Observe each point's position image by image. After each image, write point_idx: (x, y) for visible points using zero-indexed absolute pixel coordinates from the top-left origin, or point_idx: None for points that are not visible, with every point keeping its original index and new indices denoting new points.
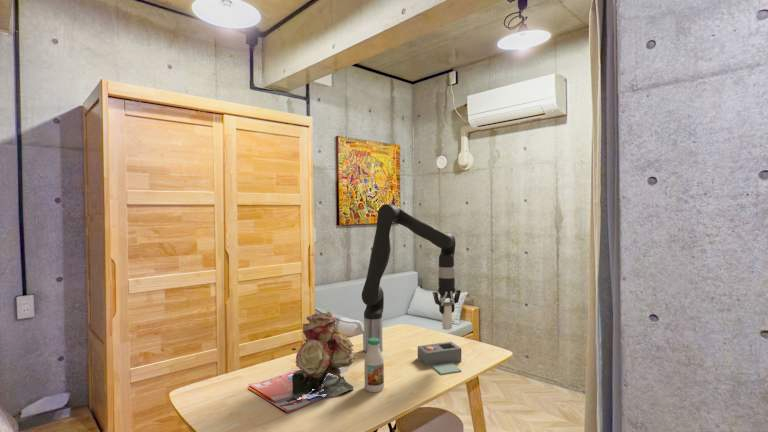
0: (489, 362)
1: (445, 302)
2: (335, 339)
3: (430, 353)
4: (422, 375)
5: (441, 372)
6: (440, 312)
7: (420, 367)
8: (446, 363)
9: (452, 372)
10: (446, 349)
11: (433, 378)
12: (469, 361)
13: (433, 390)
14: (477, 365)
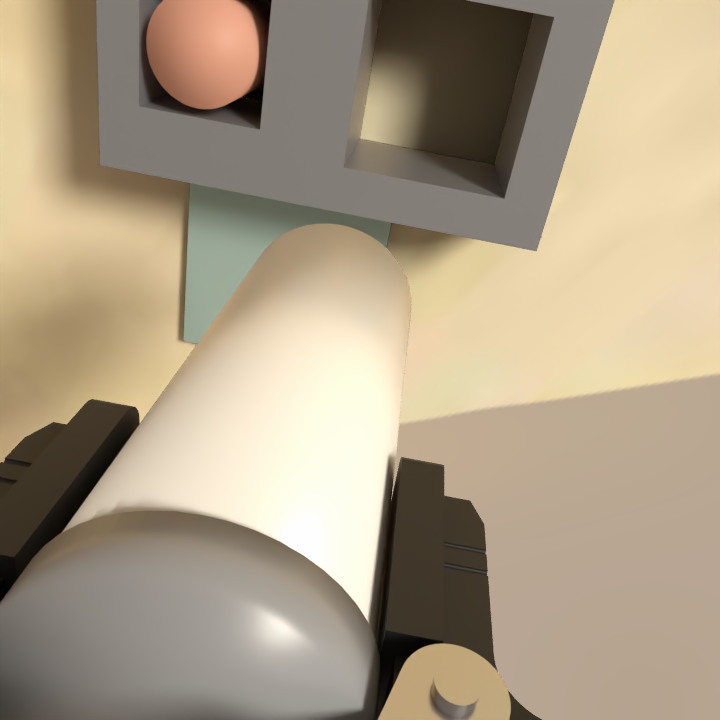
0: (704, 361)
1: (133, 690)
2: None
3: (152, 172)
4: (50, 272)
5: (196, 330)
6: (94, 405)
7: (94, 129)
8: None
9: None
10: (365, 189)
11: (108, 352)
12: (578, 255)
13: None
14: (563, 353)
